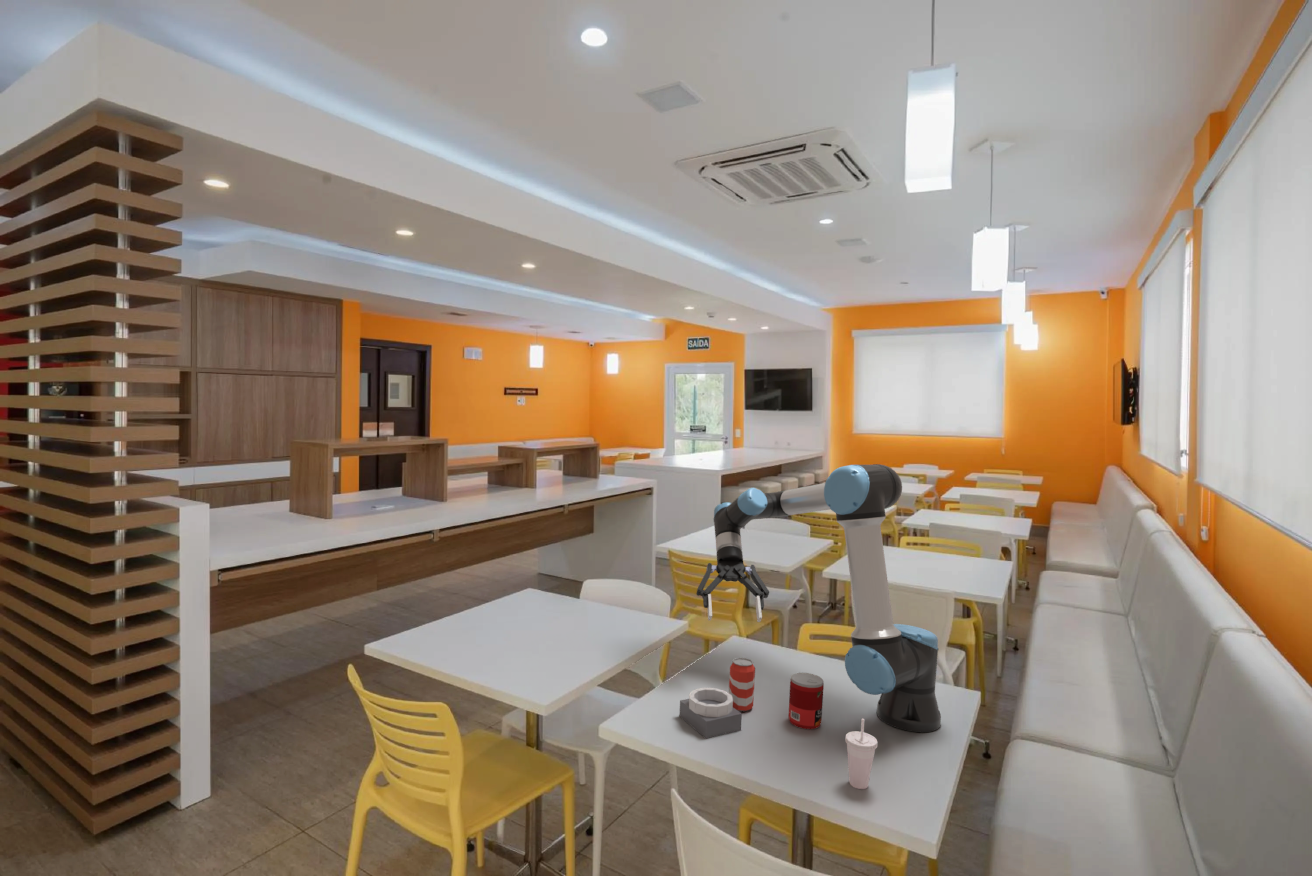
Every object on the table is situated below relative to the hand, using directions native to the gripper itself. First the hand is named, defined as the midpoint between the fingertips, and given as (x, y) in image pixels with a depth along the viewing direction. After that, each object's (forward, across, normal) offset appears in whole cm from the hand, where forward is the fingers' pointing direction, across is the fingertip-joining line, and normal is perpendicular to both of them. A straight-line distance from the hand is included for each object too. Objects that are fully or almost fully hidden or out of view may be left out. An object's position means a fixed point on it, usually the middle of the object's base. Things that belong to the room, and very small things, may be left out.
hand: (735, 619), depth 184 cm
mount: (+28, +9, +1) cm, 29 cm away
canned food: (+27, -15, 0) cm, 31 cm away
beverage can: (+22, 0, -5) cm, 23 cm away
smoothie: (+46, -19, +20) cm, 53 cm away
